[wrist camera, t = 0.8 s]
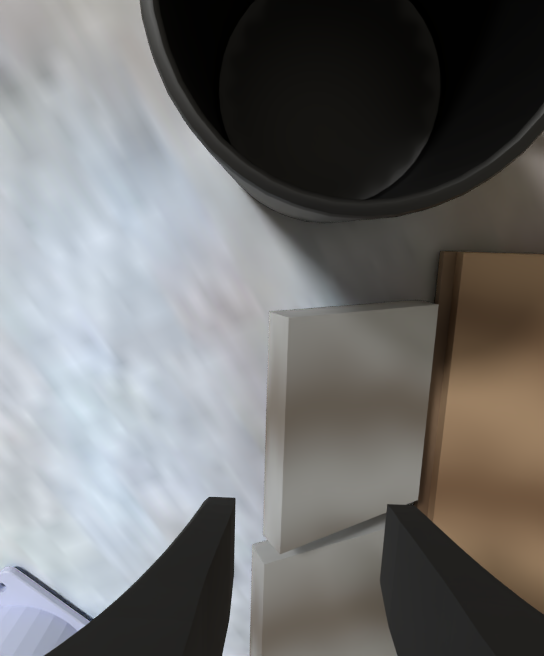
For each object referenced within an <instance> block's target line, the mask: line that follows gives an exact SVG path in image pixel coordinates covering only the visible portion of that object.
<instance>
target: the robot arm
mask: <svg viewBox="0 0 544 656" xmlns="http://www.w3.org/2000/svg"><path fill="white" fill-rule="evenodd" d="M234 541H235V498H225V497H209V498H207V499H206V500H205V501H204V502H203V504H202V505H201V507H200V508H199V510H198V511H197V512H196V514H195V515H194V516H193V518H192V519H191V520H190V522H189V523H188V524H187V526H186V527H185V528H184V529H183V531H182V532H181V533H180V534H179V535H178V537H177V538H176V539H175V540H174V541H173V542H172V544H171V545H170V546H169V547H168V548H167V550H166V551H165V552H164V553H163V554H162V555H161V556H160V557H159V558H158V559H157V560H156V562H155V563H154V564H153V565H152V566H151V567H150V568H149V569H148V570H147V571H146V572H145V573H144V574H143V575H142V576H141V577H140V578H139V579H138V580H137V581H136V582H135V583H134V584H133V585H132V586H131V587H130V588H129V589H128V590H127V591H126V592H125V593H124V594H122V595H121V596H120V597H119V598H118V599H117V600H116V601H115V602H113V603H112V604H111V605H110V606H109V607H108V608H107V609H105V610H104V611H103V612H102V613H101V614H99V615H98V616H97V617H96V618H94V619H93V620H92V621H91V622H90V621H89V620H87V619H86V618H84V617H83V616H82V615H80V614H79V613H78V612H76V611H75V610H73V609H72V608H71V607H69V606H68V605H66V604H65V603H64V602H62V601H61V600H60V599H58V598H57V597H55V596H54V595H53V594H51V593H50V592H48V591H47V590H46V589H44V588H43V587H42V586H40V585H39V584H37V583H36V582H35V581H33V580H32V579H30V578H29V577H28V576H26V575H25V574H24V573H22V572H21V571H19V570H18V569H17V568H15V567H10V566H8V567H5V568H3V569H2V570H1V571H0V656H222V653H223V648H224V643H225V638H226V633H227V628H228V623H229V617H230V607H231V598H232V588H233V578H234ZM1 583H3V584H4V585H5V586H4V585H2V584H1ZM380 585H381V591H382V596H383V602H384V607H385V612H386V617H387V622H388V627H389V630H390V633H391V637H392V640H393V643H394V646H395V649H396V653H397V656H544V614H542V613H541V612H540V611H538V610H537V609H535V608H534V607H533V606H531V605H530V604H529V603H527V602H526V601H525V600H523V599H522V598H521V597H519V596H518V595H517V594H516V593H514V592H513V591H512V590H510V589H509V588H508V587H507V586H505V585H504V584H503V583H502V582H500V581H499V580H498V579H497V578H495V577H494V576H493V575H492V574H491V573H489V572H488V571H487V570H486V569H485V568H483V567H482V566H481V565H480V564H479V563H478V562H476V561H475V560H474V559H473V558H472V557H471V556H469V555H468V554H467V553H466V552H465V551H464V550H463V549H462V548H460V547H459V546H458V545H457V544H456V543H455V542H454V541H453V540H452V539H451V538H449V537H448V536H447V535H446V534H445V533H444V532H443V531H442V530H441V529H440V528H439V527H438V526H436V525H435V524H434V523H433V522H432V521H431V520H430V519H429V518H428V517H427V516H426V515H425V514H423V513H422V512H421V511H420V510H419V509H418V508H417V507H415V506H414V505H399V504H387V511H386V521H385V532H384V542H383V552H382V562H381V572H380Z"/></svg>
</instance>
